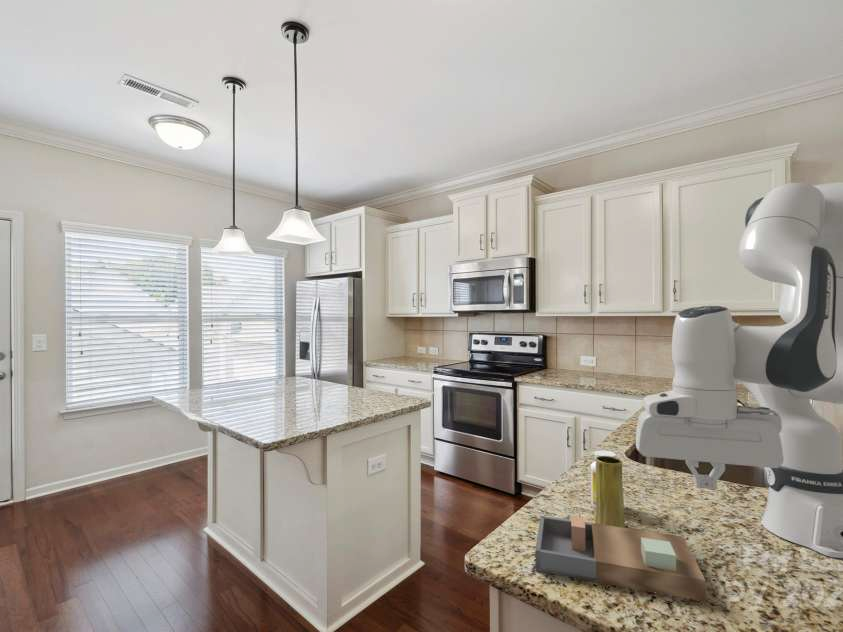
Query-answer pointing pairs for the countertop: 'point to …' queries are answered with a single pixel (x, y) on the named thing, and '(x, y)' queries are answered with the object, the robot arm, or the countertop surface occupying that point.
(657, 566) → the tile sage
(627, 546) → the board
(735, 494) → the countertop surface
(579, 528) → the tile terracotta
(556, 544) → the tray
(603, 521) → the vase
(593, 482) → the supplement bottle
